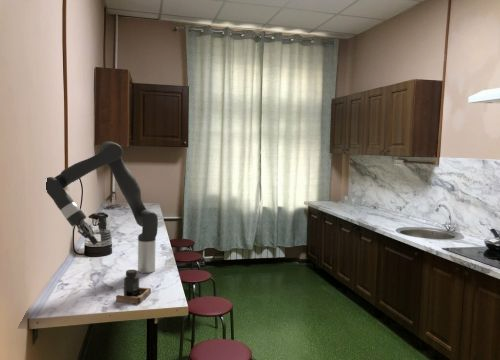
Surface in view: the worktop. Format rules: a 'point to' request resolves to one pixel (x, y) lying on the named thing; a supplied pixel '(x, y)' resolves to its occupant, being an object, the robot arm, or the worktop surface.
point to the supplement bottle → (131, 283)
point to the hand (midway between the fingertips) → (95, 243)
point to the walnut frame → (131, 299)
